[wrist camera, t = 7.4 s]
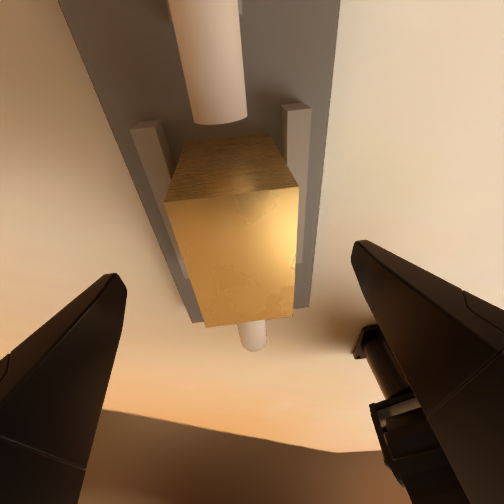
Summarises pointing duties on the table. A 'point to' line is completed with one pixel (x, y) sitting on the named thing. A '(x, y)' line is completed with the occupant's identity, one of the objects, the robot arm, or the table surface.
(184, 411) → the table surface
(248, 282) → the block
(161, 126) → the shaft stand
